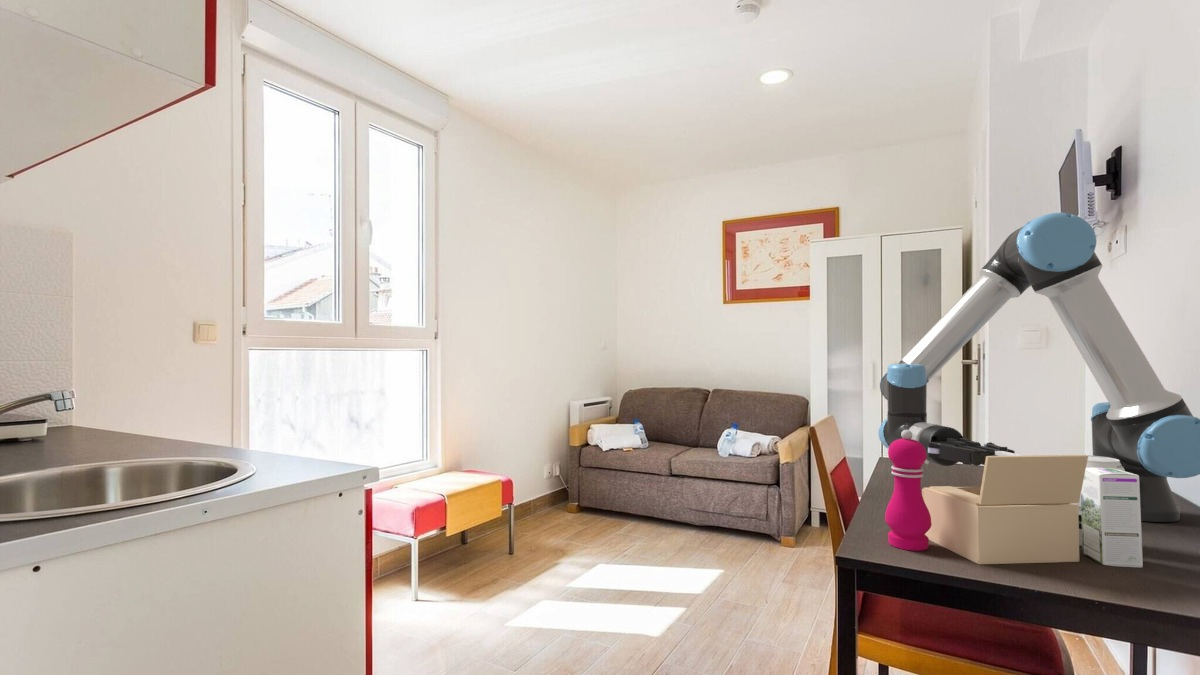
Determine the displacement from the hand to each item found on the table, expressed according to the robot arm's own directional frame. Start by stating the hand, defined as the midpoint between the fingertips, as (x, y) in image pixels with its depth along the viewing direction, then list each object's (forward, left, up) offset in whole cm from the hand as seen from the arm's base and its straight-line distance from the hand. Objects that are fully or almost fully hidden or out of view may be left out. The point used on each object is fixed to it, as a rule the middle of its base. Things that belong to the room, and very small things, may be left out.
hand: (1029, 466), depth 95 cm
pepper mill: (+14, -11, -16) cm, 23 cm away
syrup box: (-14, -1, -16) cm, 21 cm away
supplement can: (-19, -9, -16) cm, 26 cm away
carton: (0, -8, -15) cm, 17 cm away
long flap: (0, -1, -6) cm, 7 cm away
